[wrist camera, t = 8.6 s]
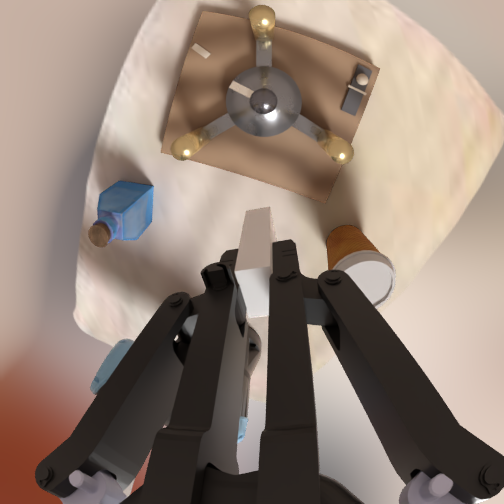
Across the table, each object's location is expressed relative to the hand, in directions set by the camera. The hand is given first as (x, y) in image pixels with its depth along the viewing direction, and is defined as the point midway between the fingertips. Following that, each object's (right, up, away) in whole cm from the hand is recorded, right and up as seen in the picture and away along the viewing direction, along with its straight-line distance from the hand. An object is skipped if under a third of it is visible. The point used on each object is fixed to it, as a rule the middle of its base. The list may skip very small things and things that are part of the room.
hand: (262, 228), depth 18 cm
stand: (+1, +18, +16) cm, 24 cm away
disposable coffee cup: (+14, 0, +26) cm, 30 cm away
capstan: (+3, +16, +14) cm, 22 cm away
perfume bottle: (-19, +7, +24) cm, 32 cm away
